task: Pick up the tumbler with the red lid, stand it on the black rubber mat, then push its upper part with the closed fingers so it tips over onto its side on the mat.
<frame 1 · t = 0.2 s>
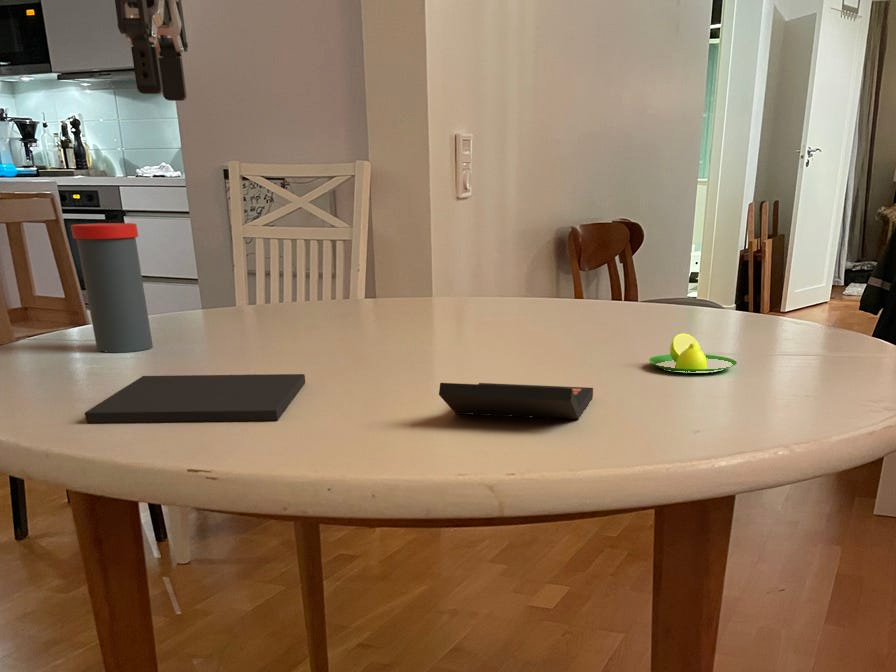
hand: (163, 97, 90), 23 cm above the table, tool pointing down, fingers open, 8 cm apart
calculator: (520, 414, 70), on the table
lemon: (691, 370, 85), on the table
mat: (205, 401, 74), on the table
tumbler: (125, 348, 97), on the table
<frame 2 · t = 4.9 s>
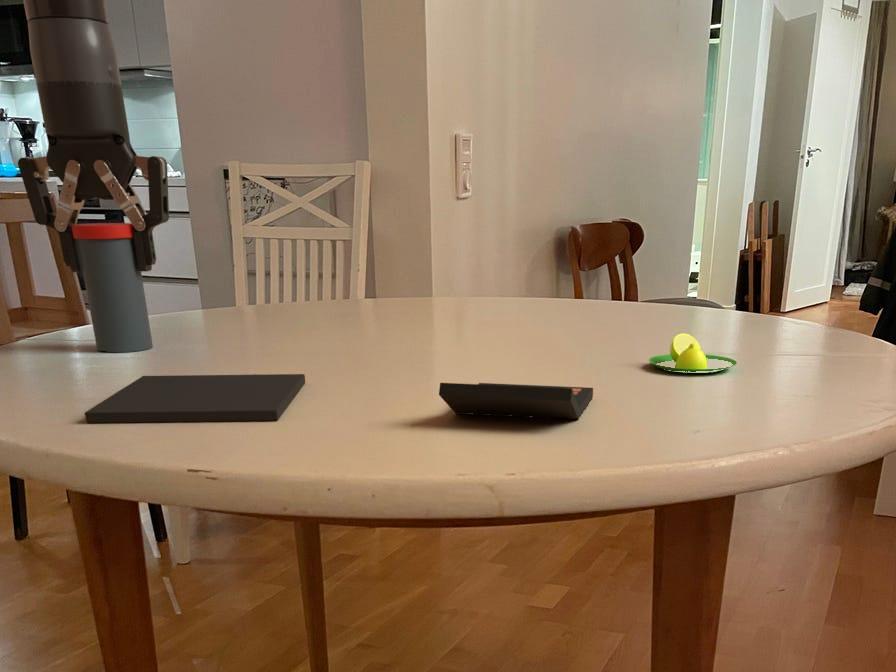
hand: (112, 270, 94), 8 cm above the table, tool pointing down, fingers closed on tumbler, 6 cm apart
tumbler: (125, 348, 97), on the table, touching gripper
everything else where it was.
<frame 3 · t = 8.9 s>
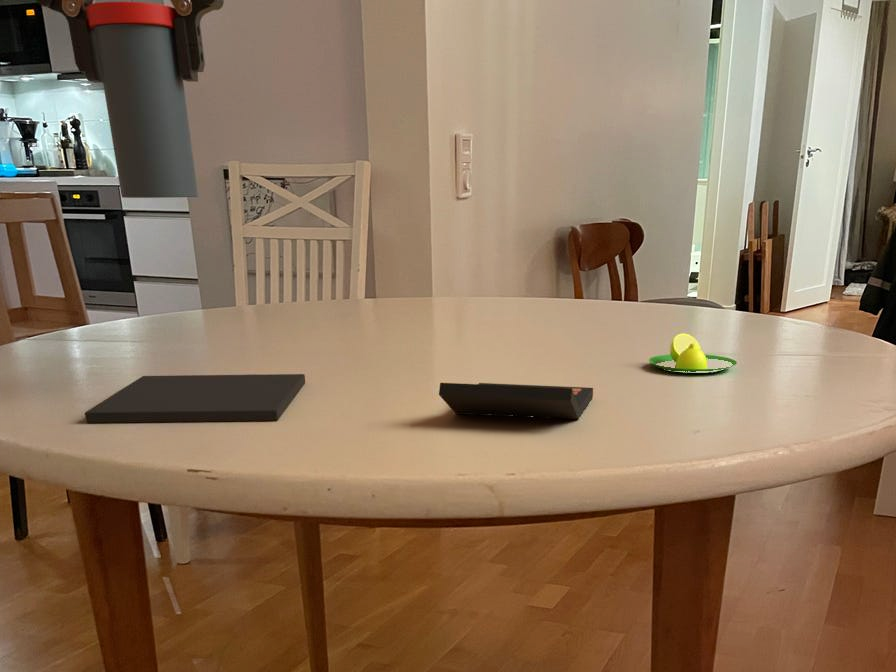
hand: (143, 80, 67), 22 cm above the table, tool pointing down, fingers closed on tumbler, 6 cm apart
tumbler: (160, 197, 70), point 15 cm above the table, touching gripper
everything else where it was.
when the fingers open (8 cm above the table, at t = 12.8 s): tumbler stays where it is, resting on mat.
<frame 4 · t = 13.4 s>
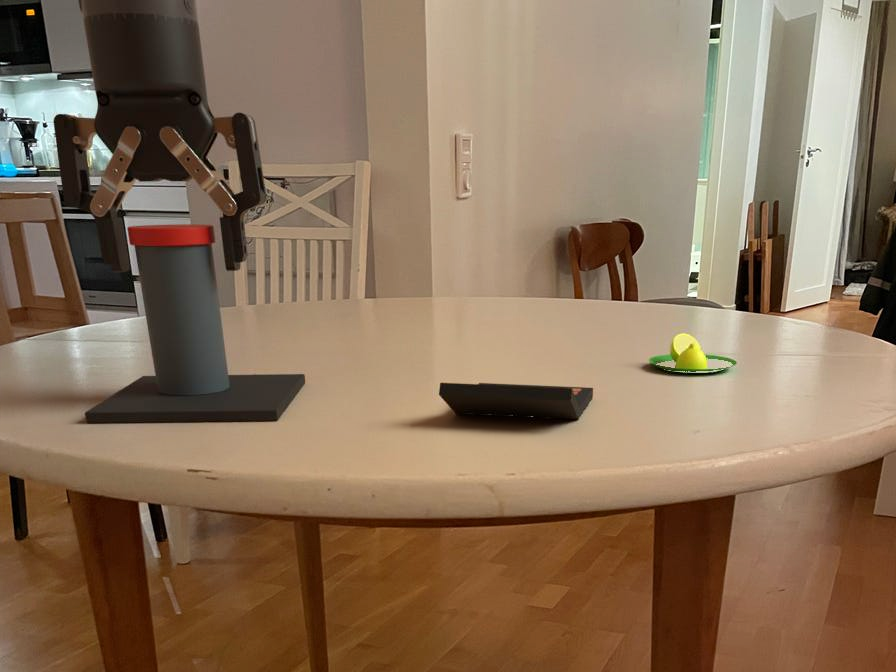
hand: (177, 270, 70), 10 cm above the table, tool pointing down, fingers open, 8 cm apart
tumbler: (194, 388, 74), point 1 cm above the table, touching mat
everything else where it was.
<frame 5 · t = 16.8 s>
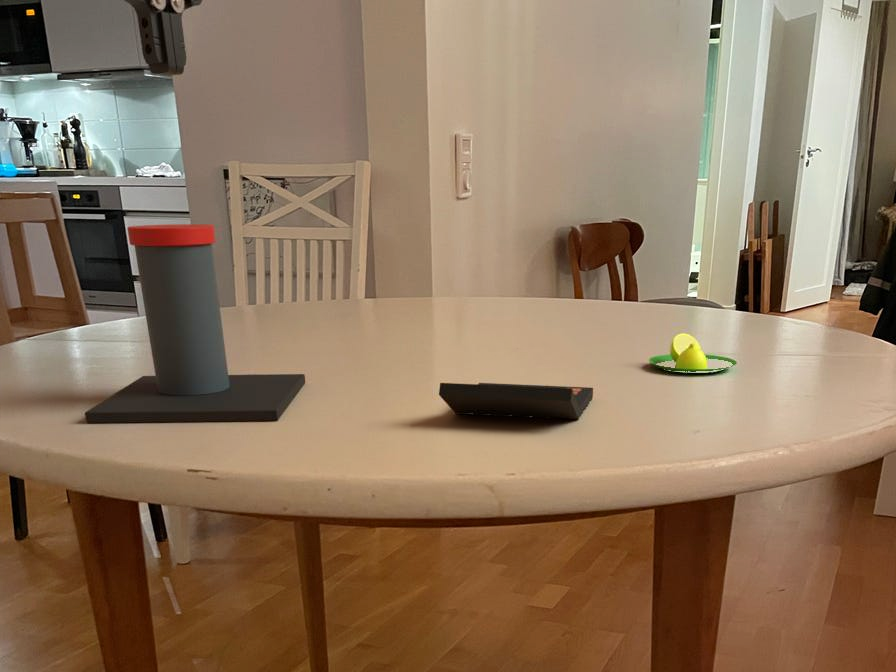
hand: (166, 73, 68), 23 cm above the table, tool pointing down, fingers closed
nothing on the table moved.
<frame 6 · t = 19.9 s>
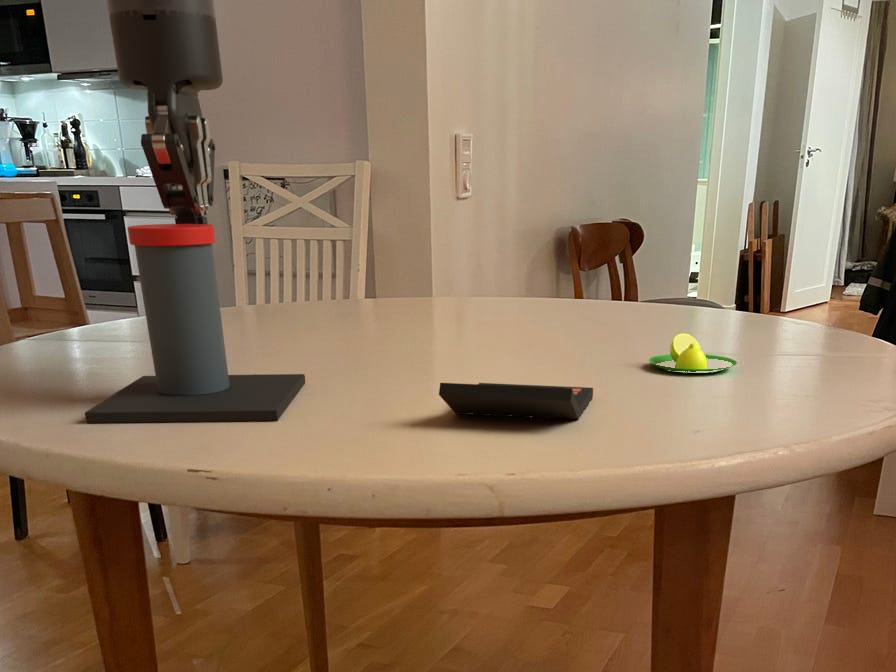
hand: (197, 266, 75), 10 cm above the table, tool pointing down, fingers closed
tumbler: (194, 388, 74), point 1 cm above the table, touching gripper, mat
everything else where it was.
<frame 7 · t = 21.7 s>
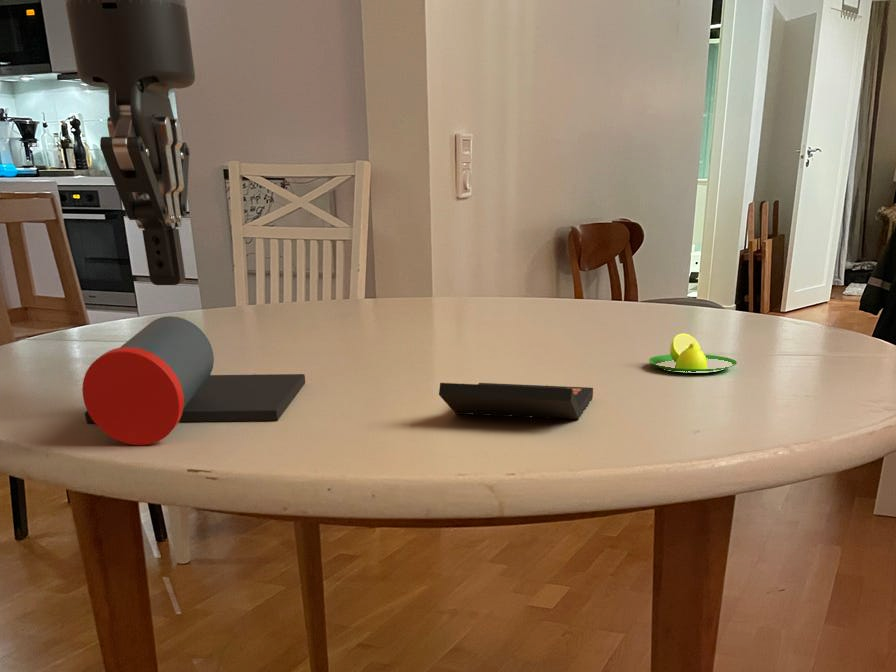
hand: (168, 283, 68), 9 cm above the table, tool pointing down, fingers closed
tumbler: (176, 354, 70), point 4 cm above the table, tilted 94°, touching mat
everything else where it was.
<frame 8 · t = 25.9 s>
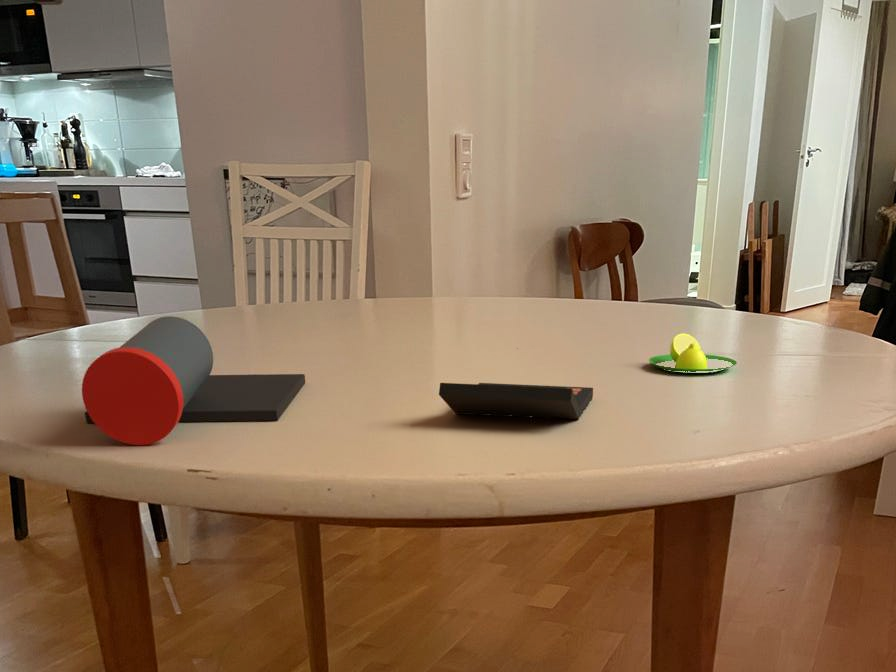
hand: (47, 3, 75), 29 cm above the table, tool pointing down, fingers closed
nothing on the table moved.
at the end: tumbler tilted 94°; tumbler inside the target area on the mat (1.8 cm from its centre), point 4.0 cm above the mat's base; the gripper is holding nothing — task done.
